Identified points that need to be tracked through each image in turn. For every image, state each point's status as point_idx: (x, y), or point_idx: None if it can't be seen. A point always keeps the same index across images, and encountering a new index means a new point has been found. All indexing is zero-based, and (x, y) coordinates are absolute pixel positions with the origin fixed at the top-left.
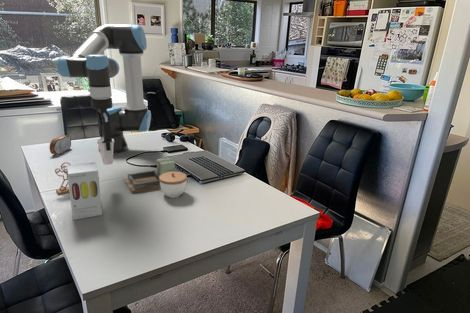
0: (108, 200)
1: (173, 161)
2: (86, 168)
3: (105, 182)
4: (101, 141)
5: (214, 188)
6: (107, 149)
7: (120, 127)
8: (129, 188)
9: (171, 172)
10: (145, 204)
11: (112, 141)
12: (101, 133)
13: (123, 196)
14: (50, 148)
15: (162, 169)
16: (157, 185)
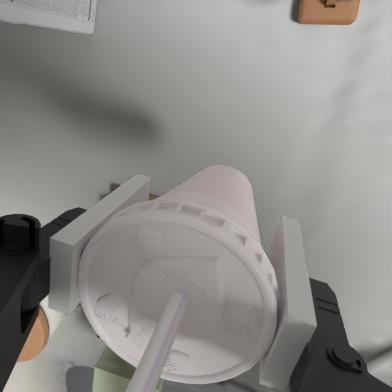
0: (106, 82)
1: None
2: None
3: (299, 155)
4: (145, 250)
5: (30, 366)
6: (65, 217)
7: None
8: (153, 197)
9: (29, 342)
10: (15, 174)
11: (97, 331)
12: (300, 389)
13: (110, 147)
14: None
15: (107, 348)
16: None
